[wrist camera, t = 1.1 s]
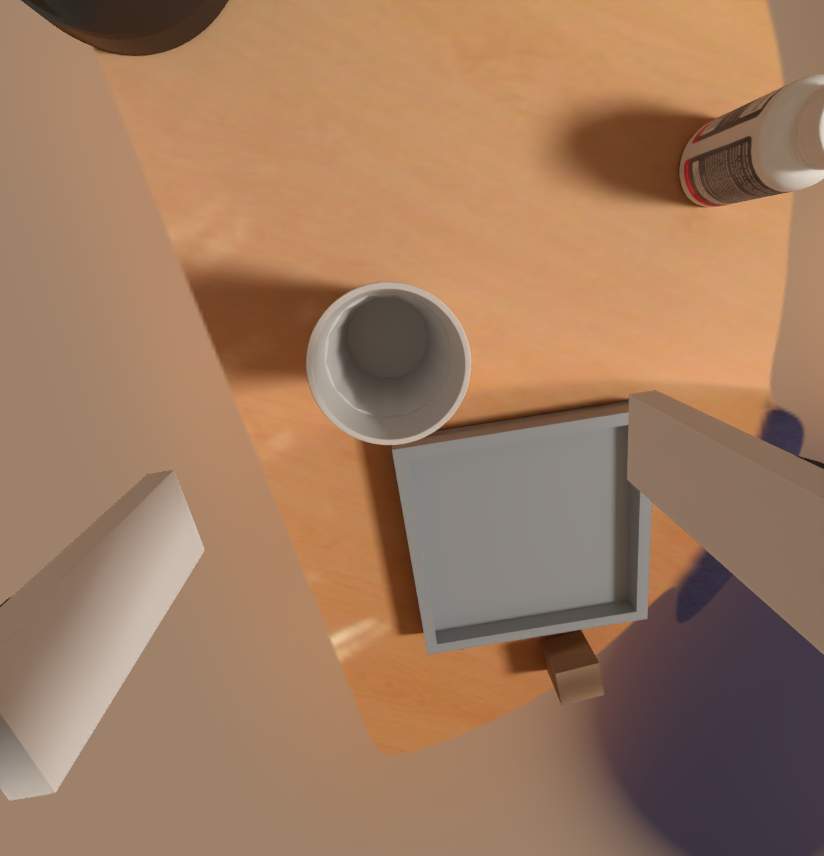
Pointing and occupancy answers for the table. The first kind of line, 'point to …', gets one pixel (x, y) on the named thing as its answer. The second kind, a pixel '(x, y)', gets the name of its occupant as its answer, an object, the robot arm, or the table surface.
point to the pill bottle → (758, 148)
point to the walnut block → (572, 667)
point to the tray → (525, 527)
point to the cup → (388, 363)
